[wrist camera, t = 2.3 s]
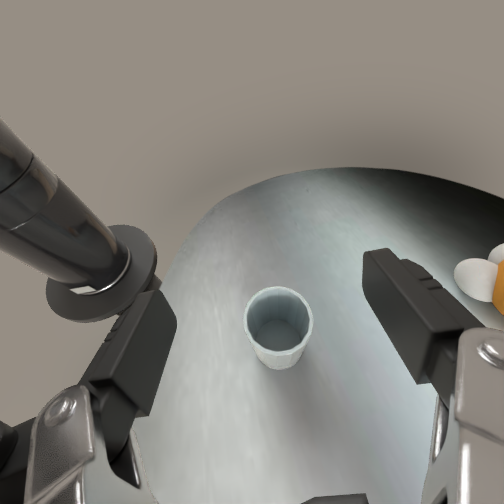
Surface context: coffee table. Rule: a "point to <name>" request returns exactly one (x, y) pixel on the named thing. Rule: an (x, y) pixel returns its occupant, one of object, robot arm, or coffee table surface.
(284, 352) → the plastic cup
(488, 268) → the toy
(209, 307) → the coffee table surface
